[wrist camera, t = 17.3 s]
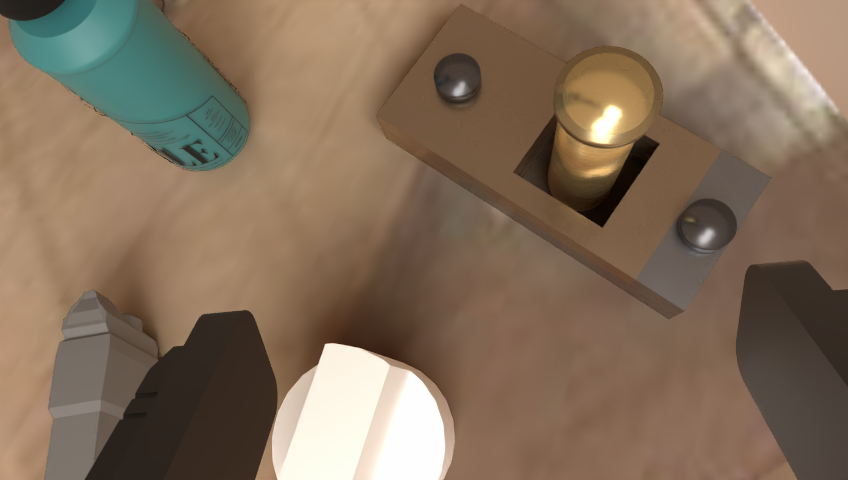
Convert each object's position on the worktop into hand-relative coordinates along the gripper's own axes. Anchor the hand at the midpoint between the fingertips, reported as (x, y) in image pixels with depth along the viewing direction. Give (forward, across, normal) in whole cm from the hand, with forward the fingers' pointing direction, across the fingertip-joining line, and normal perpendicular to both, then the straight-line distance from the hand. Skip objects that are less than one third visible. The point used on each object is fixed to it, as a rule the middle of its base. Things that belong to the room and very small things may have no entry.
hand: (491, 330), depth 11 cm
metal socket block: (+29, -5, +11) cm, 32 cm away
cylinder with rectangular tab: (+18, +8, +22) cm, 30 cm away
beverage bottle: (+33, +18, +8) cm, 38 cm away
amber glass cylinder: (+29, -6, +12) cm, 32 cm away
